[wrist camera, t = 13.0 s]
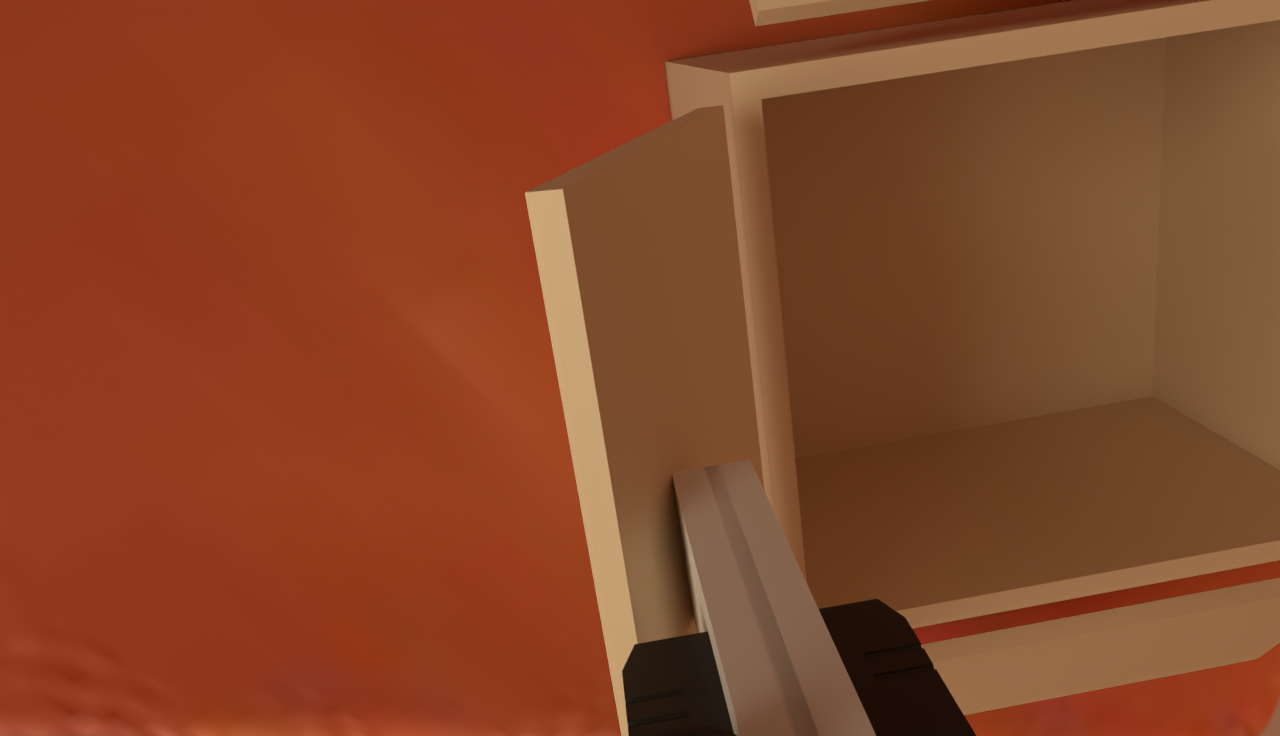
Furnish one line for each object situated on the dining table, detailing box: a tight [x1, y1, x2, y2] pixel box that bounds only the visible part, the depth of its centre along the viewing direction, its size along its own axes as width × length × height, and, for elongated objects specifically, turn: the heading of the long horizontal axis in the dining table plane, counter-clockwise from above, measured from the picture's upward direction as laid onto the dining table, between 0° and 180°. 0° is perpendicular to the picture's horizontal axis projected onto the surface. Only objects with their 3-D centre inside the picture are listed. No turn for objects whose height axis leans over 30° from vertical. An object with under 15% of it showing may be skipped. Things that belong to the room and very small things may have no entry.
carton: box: [665, 0, 1280, 628], centre depth 27 cm, size 16×14×10 cm
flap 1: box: [525, 105, 764, 736], centre depth 17 cm, size 8×13×1 cm
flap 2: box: [921, 578, 1280, 715], centre depth 28 cm, size 15×6×1 cm
